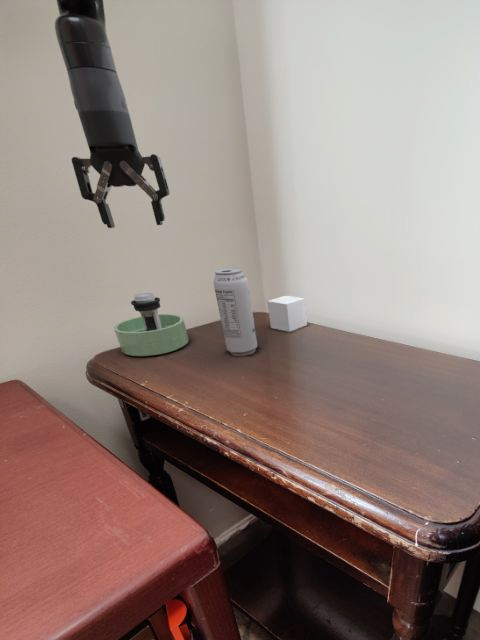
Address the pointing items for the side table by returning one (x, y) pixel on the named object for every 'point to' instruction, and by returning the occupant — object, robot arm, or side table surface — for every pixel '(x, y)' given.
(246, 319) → the energy drink can
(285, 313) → the white cube
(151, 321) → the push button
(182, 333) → the bowl
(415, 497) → the side table surface
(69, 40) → the robot arm
